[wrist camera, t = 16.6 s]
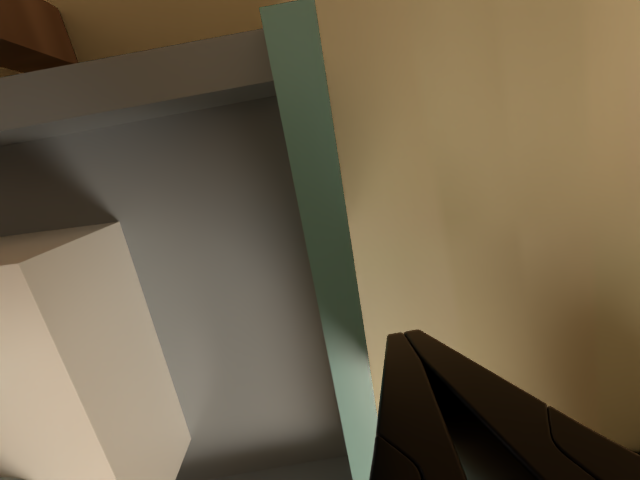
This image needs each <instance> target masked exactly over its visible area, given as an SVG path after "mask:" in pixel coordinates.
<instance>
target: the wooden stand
mask: <svg viewBox="0 0 640 480" xmlns="http://www.w3.org/2000/svg"><path fill="white" fill-rule="evenodd" d="M75 63H78V62H77V59H76V56H75V53H74V51H73V48H72V45H71V43H70V40H69V37H68V34H67V32H66V29H65V26H64V24H63V21H62V18H61V15H60V13H59V10H58V8H57V7H55V6H53V5H51V4H49V3H47V2H46V1H44V0H0V67H3V68H7V69H11V70H15V71H19V72H23V73H27V72H32V71H38V70H43V69H48V68H54V67H59V66H65V65H70V64H75Z"/></svg>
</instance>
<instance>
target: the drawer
mask: <svg viewBox="0 0 640 480" xmlns="http://www.w3.org/2000/svg"><path fill="white" fill-rule="evenodd" d="M259 10H260V15H261V20H262V25H263V29H258V30H252V31H247V32H242V33H236V34H231V35H225V36H220V37H215V38H209V39H204V40H199V41H193V42H188V43H183V44H177V45H172V46H166V47H161V48H156V49H150V50H145V51H140V52H134V53H129V54H124V55H118V56H113V57H107V58H102V59H97V60H91V61H86V62H81V63H75V64H70V65H65V66H59V67H54V68H48V69H43V70H38V71H32V72H27V73H22V74H16V75H11V76H6V77H0V237H4V236H12V235H19V234H27V233H35V232H43V231H50V230H58V229H66V228H74V227H81V226H89V225H97V224H105V223H112V222H120V225H121V228H122V231H123V234H124V237H125V240H126V243H127V246H128V249H129V252H130V255H131V258H132V261H133V264H134V267H135V270H136V273H137V276H138V279H139V282H140V285H141V288H142V292H143V295H144V298H145V301H146V304H147V307H148V310H149V313H150V316H151V319H152V322H153V325H154V328H155V331H156V334H157V337H158V340H159V343H160V346H161V349H162V352H163V355H164V358H165V361H166V364H167V367H168V370H169V373H170V376H171V379H172V382H173V385H174V388H175V391H176V394H177V397H178V400H179V403H180V406H181V409H182V412H183V415H184V418H185V421H186V424H187V427H188V431H189V434H190V437H191V441H190V444H189V446H188V449H187V451H186V454H185V456H184V459H183V462H182V464H181V467H180V469H179V472H178V474H177V477H176V480H369V477H370V471H371V464H372V458H373V451H374V443H375V437H376V428H377V419H378V418H377V412H376V405H375V398H374V392H373V385H372V378H371V372H370V365H369V358H368V352H367V345H366V338H365V332H364V325H363V319H362V312H361V305H360V299H359V292H358V285H357V279H356V272H355V265H354V259H353V252H352V246H351V239H350V232H349V226H348V219H347V212H346V206H345V199H344V192H343V186H342V179H341V172H340V166H339V159H338V153H337V146H336V139H335V133H334V126H333V119H332V113H331V106H330V99H329V93H328V86H327V80H326V73H325V66H324V60H323V53H322V46H321V40H320V33H319V26H318V20H317V13H316V6H315V0H297V1H292V2H286V3H281V4H276V5H270V6H265V7H260V8H259Z"/></svg>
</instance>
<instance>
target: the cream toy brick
mask: <svg viewBox="0 0 640 480" xmlns="http://www.w3.org/2000/svg"><path fill="white" fill-rule="evenodd" d="M190 441H191V437H190V434H189V431H188V427H187V424H186V421H185V418H184V415H183V412H182V409H181V406H180V403H179V400H178V397H177V394H176V391H175V388H174V385H173V382H172V379H171V376H170V373H169V370H168V367H167V364H166V361H165V358H164V355H163V352H162V349H161V346H160V343H159V340H158V337H157V334H156V331H155V328H154V325H153V322H152V319H151V316H150V313H149V310H148V307H147V304H146V301H145V298H144V295H143V292H142V288H141V285H140V282H139V279H138V276H137V273H136V270H135V267H134V264H133V261H132V258H131V255H130V252H129V249H128V246H127V243H126V240H125V237H124V234H123V231H122V228H121V225H120V222H112V223H105V224H97V225H89V226H81V227H74V228H66V229H58V230H50V231H43V232H35V233H27V234H19V235H12V236H4V237H0V480H176V477H177V474H178V472H179V469H180V467H181V464H182V462H183V459H184V456H185V454H186V451H187V449H188V446H189V444H190Z"/></svg>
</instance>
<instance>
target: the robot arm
mask: <svg viewBox="0 0 640 480" xmlns="http://www.w3.org/2000/svg"><path fill="white" fill-rule="evenodd" d="M369 480H640V454H639V455H638V454H636V453H634V452H632V451H630V450H629V449H627V448H625V447H623V446H621V445H619V444H617V443H615V442H613V441H611V440H609V439H607V438H606V437H604V436H602V435H600V434H598V433H597V432H595V431H593V430H591V429H589V428H588V427H586V426H584V425H582V424H581V423H579V422H577V421H575V420H573V419H572V418H570V417H568V416H566V415H565V414H563V413H561V412H560V411H558V410H556V409H554V408H553V407H551V406H548V407H547V405H546V403H544V402H542V401H541V400H539V399H537V398H535V397H534V396H532V395H530V394H529V393H527V392H525V391H523V390H522V389H520V388H518V387H517V386H515V385H513V384H511V383H510V382H508V381H506V380H505V379H503V378H501V377H499V376H498V375H496V374H494V373H493V372H491V371H489V370H488V369H486V368H484V367H482V366H481V365H479V364H477V363H476V362H474V361H472V360H470V359H469V358H467V357H465V356H464V355H462V354H460V353H458V352H457V351H455V350H453V349H452V348H450V347H448V346H446V345H445V344H443V343H441V342H440V341H438V340H436V339H434V338H433V337H431V336H429V335H428V334H426V333H424V332H423V331H421V330H411V331H406V332H404V334H403V333H394V334H389V335H388V336H387V343H386V351H385V360H384V368H383V377H382V385H381V394H380V402H379V411H378V419H377V428H376V437H375V443H374V451H373V458H372V464H371V471H370V477H369Z"/></svg>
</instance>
